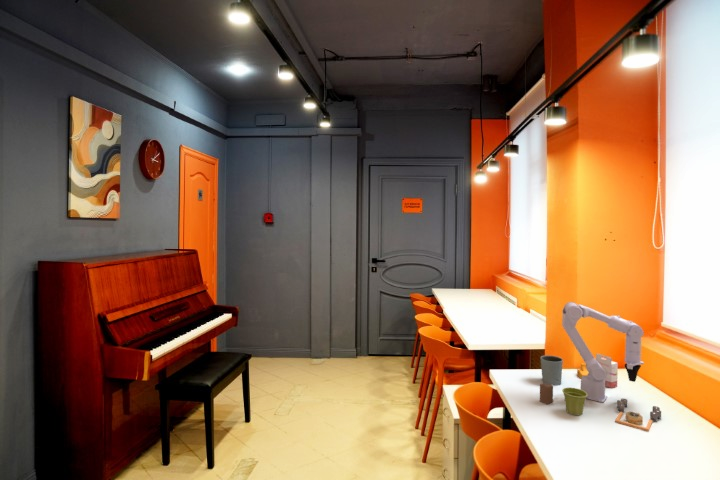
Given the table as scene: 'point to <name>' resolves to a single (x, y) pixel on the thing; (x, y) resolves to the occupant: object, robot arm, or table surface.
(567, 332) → the robot arm
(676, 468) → the table surface
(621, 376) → the table surface
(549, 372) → the grey bucket
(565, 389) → the plant pot
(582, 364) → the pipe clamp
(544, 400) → the wooden block
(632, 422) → the brass nut
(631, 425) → the orange bay
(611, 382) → the ink cartridge box
